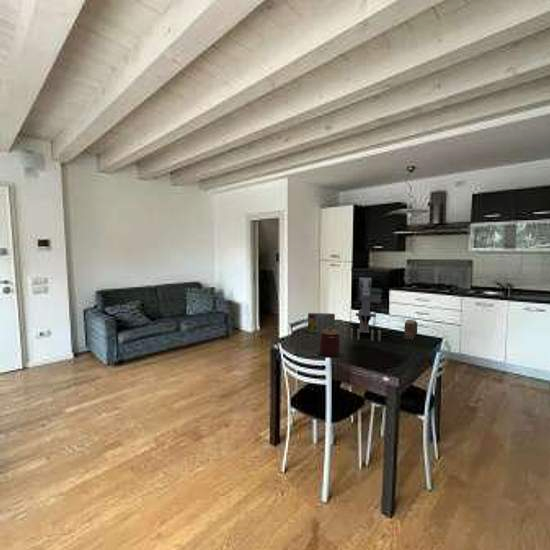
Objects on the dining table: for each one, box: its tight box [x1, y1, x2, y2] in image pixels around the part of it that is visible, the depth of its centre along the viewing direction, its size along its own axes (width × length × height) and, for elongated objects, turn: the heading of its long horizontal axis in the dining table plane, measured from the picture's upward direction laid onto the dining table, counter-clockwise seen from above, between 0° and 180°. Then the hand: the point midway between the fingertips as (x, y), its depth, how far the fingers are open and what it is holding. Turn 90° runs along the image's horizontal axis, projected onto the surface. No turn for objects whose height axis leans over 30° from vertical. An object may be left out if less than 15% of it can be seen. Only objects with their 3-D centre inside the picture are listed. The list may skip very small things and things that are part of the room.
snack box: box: [307, 312, 336, 334], centre depth 269 cm, size 21×6×15 cm, turn 84°
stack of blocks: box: [403, 319, 418, 340], centre depth 260 cm, size 21×6×12 cm, turn 149°
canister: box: [319, 327, 341, 357], centre depth 216 cm, size 13×13×18 cm
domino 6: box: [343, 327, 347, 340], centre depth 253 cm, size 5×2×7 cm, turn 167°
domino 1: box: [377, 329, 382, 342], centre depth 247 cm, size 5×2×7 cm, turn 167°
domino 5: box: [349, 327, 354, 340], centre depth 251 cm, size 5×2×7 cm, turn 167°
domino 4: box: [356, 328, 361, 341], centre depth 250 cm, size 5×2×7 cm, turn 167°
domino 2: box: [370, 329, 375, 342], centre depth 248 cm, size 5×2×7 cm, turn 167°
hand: (365, 325), depth 254 cm, fingers closed
